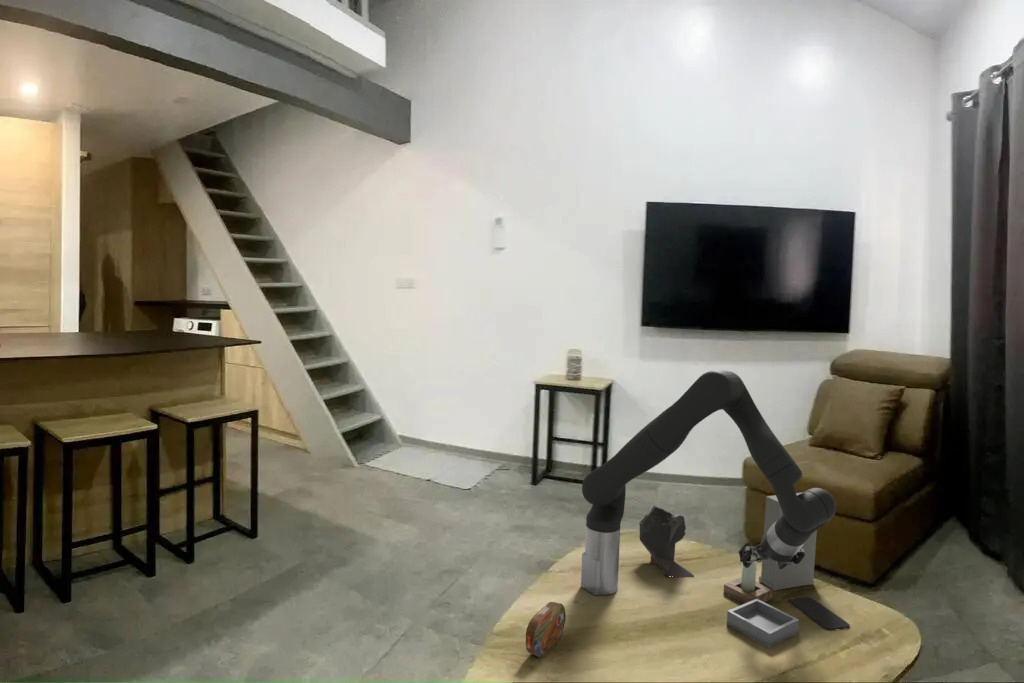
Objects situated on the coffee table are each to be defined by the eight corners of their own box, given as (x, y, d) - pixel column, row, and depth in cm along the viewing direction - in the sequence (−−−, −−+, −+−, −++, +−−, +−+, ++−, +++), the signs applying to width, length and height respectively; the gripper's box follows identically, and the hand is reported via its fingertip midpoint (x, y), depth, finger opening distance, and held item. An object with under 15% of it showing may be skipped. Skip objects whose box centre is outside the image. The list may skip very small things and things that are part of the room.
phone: (810, 596, 165) (852, 626, 151) (809, 599, 166) (852, 629, 151) (785, 598, 164) (826, 629, 149) (785, 601, 164) (826, 632, 149)
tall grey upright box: (797, 574, 178) (803, 491, 176) (813, 584, 173) (820, 498, 170) (758, 581, 174) (763, 495, 172) (773, 591, 168) (779, 502, 166)
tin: (534, 664, 134) (535, 627, 133) (522, 659, 135) (523, 622, 134) (566, 632, 146) (567, 598, 145) (554, 627, 148) (555, 594, 147)
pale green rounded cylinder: (749, 600, 163) (751, 564, 162) (737, 594, 166) (739, 559, 165) (757, 597, 165) (759, 561, 164) (745, 591, 168) (748, 556, 167)
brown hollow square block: (751, 607, 159) (752, 598, 159) (723, 593, 167) (724, 584, 166) (771, 598, 164) (772, 589, 164) (743, 585, 171) (744, 576, 171)
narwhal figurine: (678, 554, 191) (681, 497, 189) (695, 577, 175) (699, 516, 174) (632, 553, 190) (635, 497, 188) (646, 577, 175) (649, 515, 173)
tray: (769, 648, 141) (769, 633, 141) (726, 624, 151) (727, 610, 151) (798, 633, 148) (799, 619, 147) (755, 611, 157) (756, 598, 157)
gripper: (810, 525, 145) (787, 550, 158) (749, 523, 146) (731, 548, 158) (819, 556, 140) (794, 580, 153) (756, 554, 141) (736, 578, 153)
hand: (762, 564), depth 155 cm, fingers open, 8 cm apart
